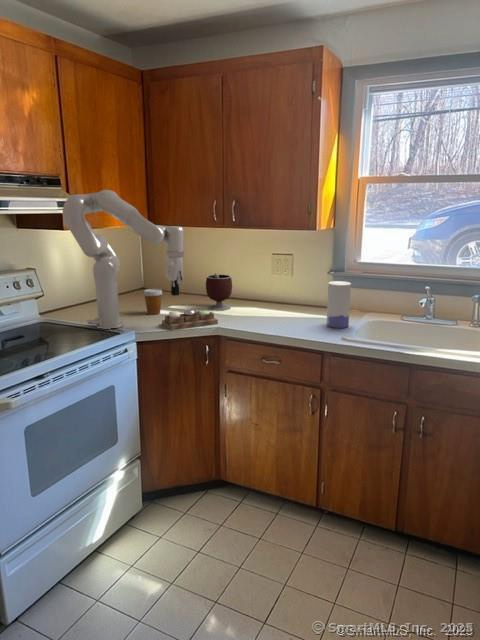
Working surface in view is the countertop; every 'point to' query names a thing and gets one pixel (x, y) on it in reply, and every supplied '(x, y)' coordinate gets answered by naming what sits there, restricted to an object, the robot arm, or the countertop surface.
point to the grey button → (189, 312)
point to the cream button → (174, 314)
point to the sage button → (204, 312)
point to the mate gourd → (219, 290)
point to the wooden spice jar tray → (189, 321)
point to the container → (338, 304)
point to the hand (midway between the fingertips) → (175, 295)
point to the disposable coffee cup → (153, 300)
